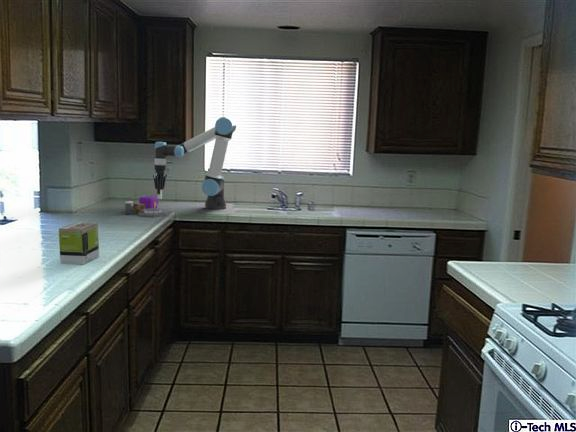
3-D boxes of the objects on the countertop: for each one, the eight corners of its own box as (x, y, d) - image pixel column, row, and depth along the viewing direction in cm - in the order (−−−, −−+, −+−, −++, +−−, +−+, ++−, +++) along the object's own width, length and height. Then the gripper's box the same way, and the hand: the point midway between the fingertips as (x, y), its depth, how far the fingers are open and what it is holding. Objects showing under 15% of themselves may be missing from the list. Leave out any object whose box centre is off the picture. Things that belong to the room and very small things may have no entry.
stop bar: (145, 213, 351) (145, 204, 350) (143, 213, 349) (143, 204, 348) (129, 211, 356) (129, 202, 355) (127, 212, 354) (127, 203, 353)
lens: (134, 214, 347) (134, 201, 346) (129, 215, 343) (129, 202, 342) (128, 213, 349) (128, 201, 348) (123, 214, 345) (123, 201, 344)
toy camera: (160, 209, 372) (160, 194, 370) (153, 212, 358) (153, 197, 357) (145, 208, 373) (145, 194, 371) (138, 211, 359) (137, 196, 358)
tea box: (77, 255, 232) (76, 221, 230) (99, 256, 231) (99, 222, 229) (59, 264, 217) (58, 227, 215) (83, 265, 216) (82, 228, 214)
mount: (165, 214, 349) (165, 209, 348) (154, 217, 338) (154, 211, 337) (150, 213, 353) (150, 207, 353) (138, 215, 342) (138, 210, 342)
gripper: (161, 163, 379) (160, 197, 383) (149, 164, 367) (149, 199, 371) (170, 164, 376) (169, 198, 380) (158, 165, 364) (158, 200, 368)
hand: (159, 198), depth 375 cm, fingers closed
